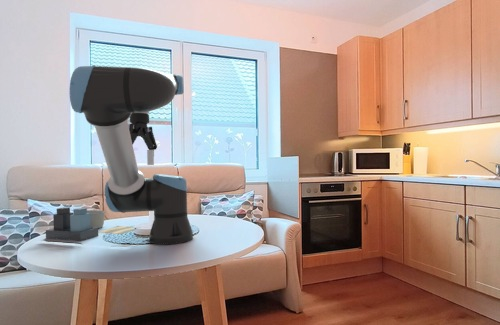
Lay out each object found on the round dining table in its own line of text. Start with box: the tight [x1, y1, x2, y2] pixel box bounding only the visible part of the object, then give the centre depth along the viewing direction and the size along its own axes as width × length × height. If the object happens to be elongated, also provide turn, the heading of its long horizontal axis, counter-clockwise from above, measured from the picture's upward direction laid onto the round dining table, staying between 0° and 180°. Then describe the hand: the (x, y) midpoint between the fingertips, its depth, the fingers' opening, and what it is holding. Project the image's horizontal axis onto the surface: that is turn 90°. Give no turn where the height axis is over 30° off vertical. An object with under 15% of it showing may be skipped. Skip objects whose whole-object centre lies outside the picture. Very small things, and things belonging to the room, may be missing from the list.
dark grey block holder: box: [45, 206, 99, 245], centre depth 114 cm, size 16×8×12 cm, turn 72°
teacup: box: [87, 209, 106, 230], centre depth 128 cm, size 14×11×8 cm
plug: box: [70, 207, 90, 232], centre depth 112 cm, size 4×4×11 cm
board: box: [98, 225, 135, 235], centre depth 124 cm, size 12×12×1 cm
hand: (140, 165), depth 127 cm, fingers open, 13 cm apart
